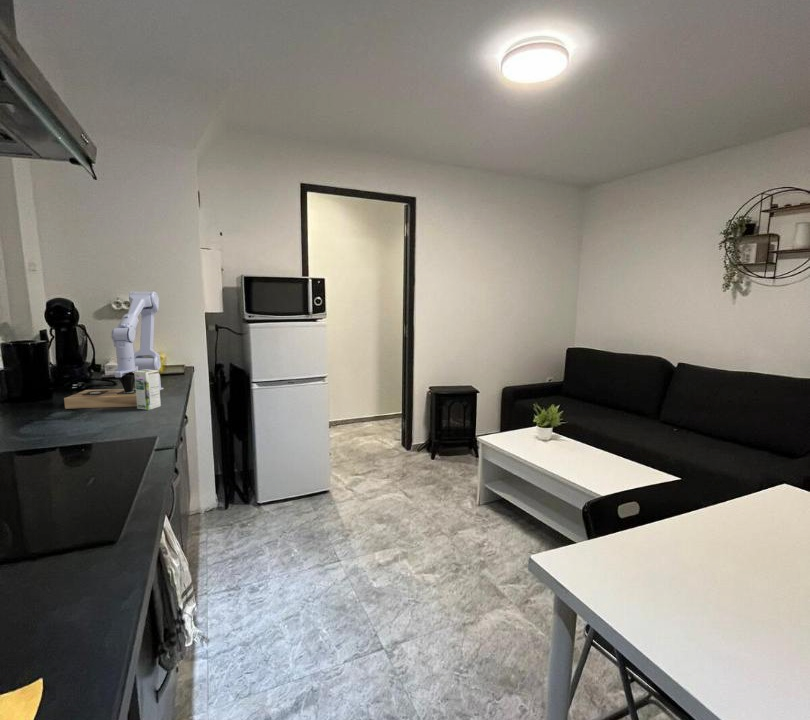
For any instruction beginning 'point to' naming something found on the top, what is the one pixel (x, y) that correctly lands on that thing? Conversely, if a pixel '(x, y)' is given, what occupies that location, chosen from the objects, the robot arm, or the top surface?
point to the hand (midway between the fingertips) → (128, 391)
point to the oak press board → (101, 399)
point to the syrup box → (147, 389)
